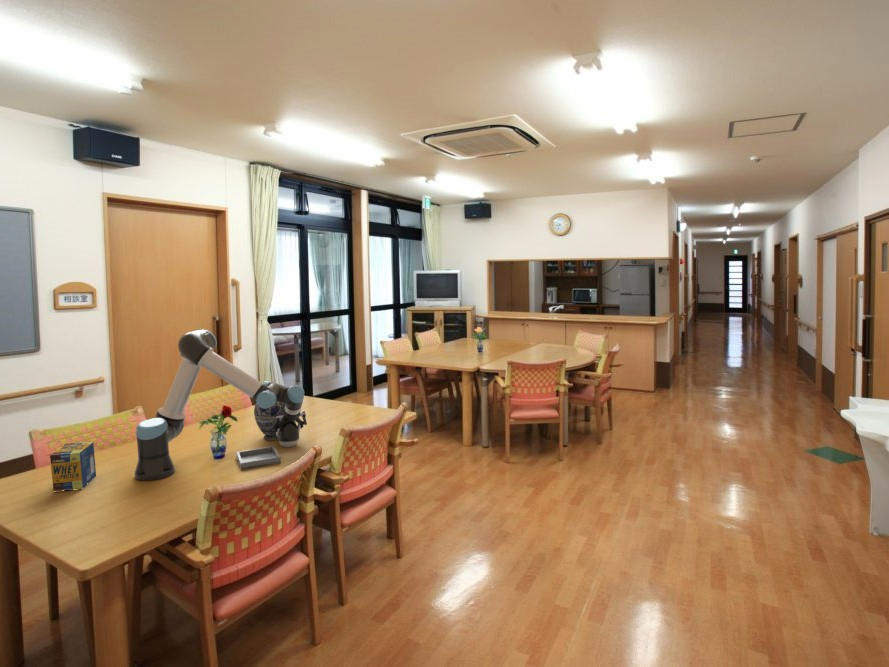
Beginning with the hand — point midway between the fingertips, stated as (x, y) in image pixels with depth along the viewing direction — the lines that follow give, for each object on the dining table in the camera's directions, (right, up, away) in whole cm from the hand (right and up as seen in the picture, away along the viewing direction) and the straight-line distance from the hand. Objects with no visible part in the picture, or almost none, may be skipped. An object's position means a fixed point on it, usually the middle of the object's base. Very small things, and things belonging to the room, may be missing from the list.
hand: (287, 432), depth 266 cm
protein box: (-73, -12, -49) cm, 89 cm away
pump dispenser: (+2, -6, -2) cm, 7 cm away
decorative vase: (-10, -5, +12) cm, 16 cm away
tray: (-7, -9, -23) cm, 26 cm away
